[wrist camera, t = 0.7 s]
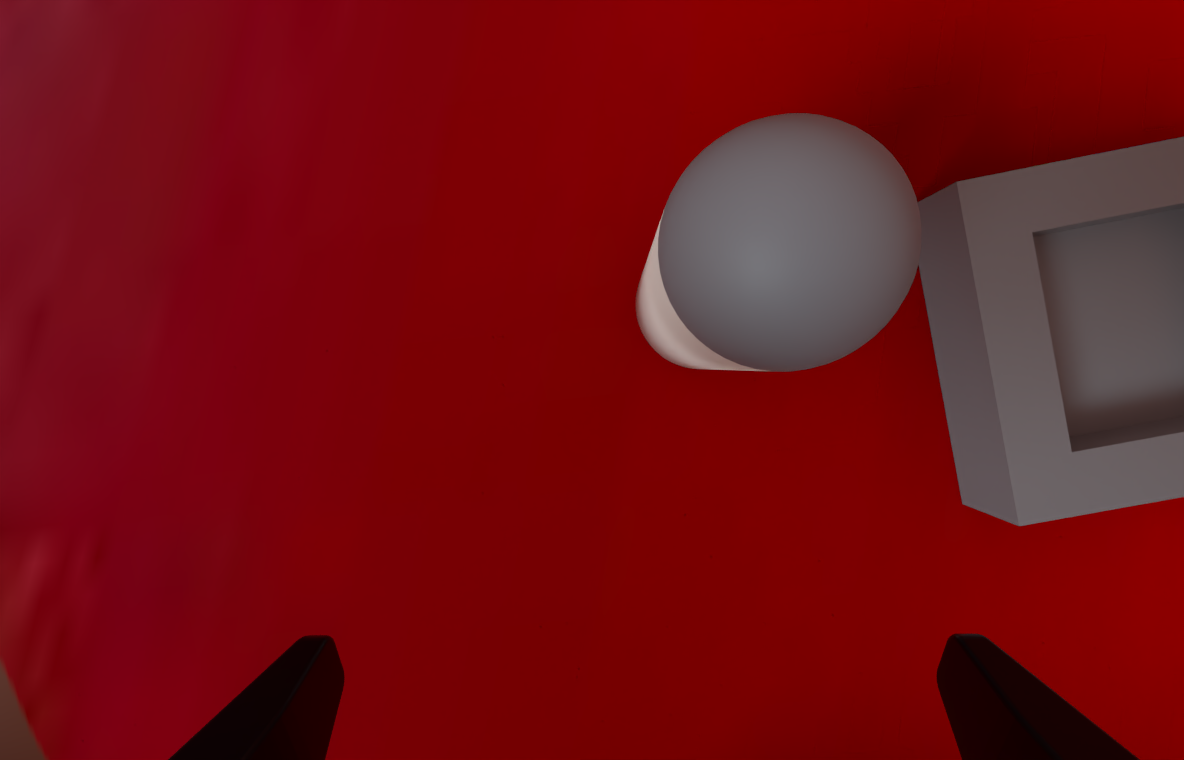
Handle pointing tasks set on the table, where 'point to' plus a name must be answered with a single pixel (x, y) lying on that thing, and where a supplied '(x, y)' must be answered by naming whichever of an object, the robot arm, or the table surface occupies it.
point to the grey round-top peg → (780, 248)
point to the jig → (1062, 331)
